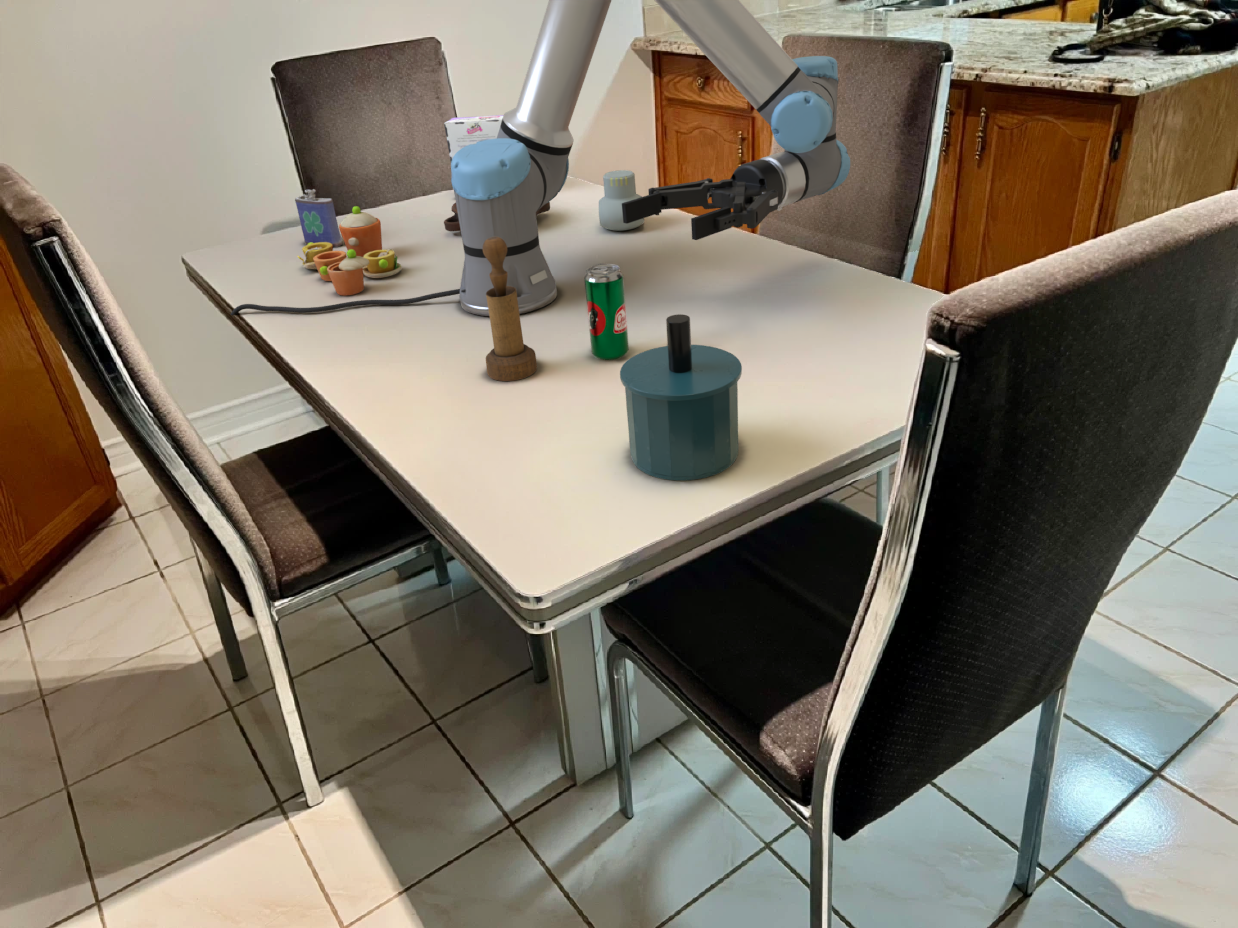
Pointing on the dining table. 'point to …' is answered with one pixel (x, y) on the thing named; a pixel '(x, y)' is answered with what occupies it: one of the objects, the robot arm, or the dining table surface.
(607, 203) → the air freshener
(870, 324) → the dining table surface
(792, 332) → the dining table surface
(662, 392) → the pot lid
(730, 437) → the pot
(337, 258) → the toy tea set
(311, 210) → the flask
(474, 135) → the candy box
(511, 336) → the mortar and pestle
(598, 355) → the soda can
